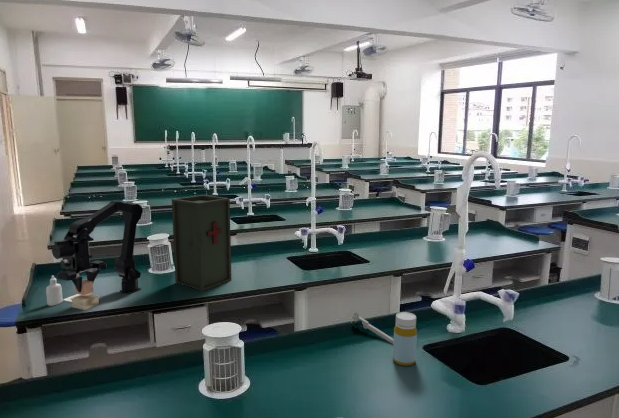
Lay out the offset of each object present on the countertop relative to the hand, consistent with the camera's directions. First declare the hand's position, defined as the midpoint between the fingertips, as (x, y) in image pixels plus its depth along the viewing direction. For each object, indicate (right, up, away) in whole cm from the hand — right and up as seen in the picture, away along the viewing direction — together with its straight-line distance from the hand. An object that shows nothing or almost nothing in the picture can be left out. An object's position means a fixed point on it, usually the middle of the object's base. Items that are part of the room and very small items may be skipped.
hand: (84, 290), depth 186 cm
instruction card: (-8, -5, +9) cm, 13 cm away
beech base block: (0, -7, +1) cm, 7 cm away
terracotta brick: (0, -1, 0) cm, 1 cm away
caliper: (+115, -12, -24) cm, 118 cm away
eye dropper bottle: (-14, -6, +3) cm, 15 cm away
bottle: (+122, -15, -42) cm, 130 cm away
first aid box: (+41, -2, +31) cm, 52 cm away
